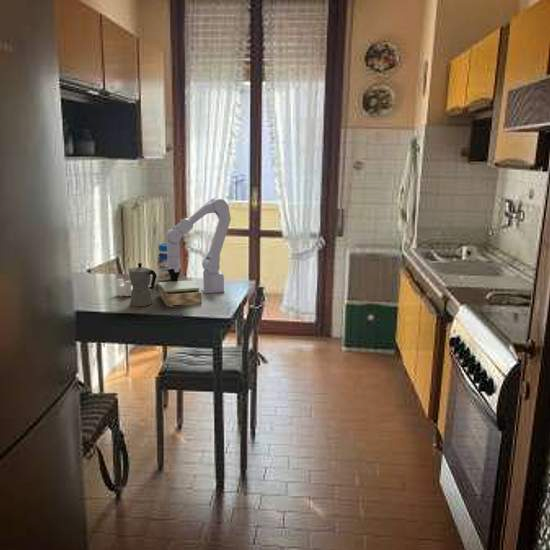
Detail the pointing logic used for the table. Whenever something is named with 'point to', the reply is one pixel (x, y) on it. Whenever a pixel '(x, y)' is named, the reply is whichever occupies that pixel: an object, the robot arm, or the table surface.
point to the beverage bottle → (163, 264)
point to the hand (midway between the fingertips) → (174, 284)
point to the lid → (177, 286)
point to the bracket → (124, 288)
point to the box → (181, 297)
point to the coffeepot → (141, 285)
